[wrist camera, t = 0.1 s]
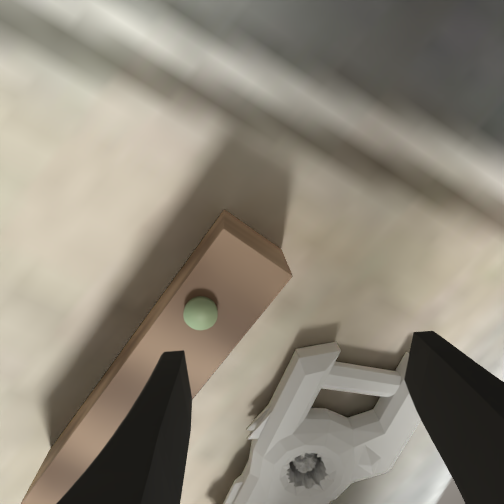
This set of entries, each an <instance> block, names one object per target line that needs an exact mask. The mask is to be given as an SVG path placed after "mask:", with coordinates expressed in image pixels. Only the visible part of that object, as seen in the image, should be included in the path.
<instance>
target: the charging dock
mask: <svg viewBox="0 0 504 504" xmlns="http://www.w3.org/2000/svg"><path fill="white" fill-rule="evenodd" d="M291 278H292V273H291V271H290V269H289V266H288V264H287V261H286V259H285V257H284V254H283V252H282V249H280V248H279V247H277V246H276V245H274V244H273V243H272V242H270V241H269V240H267V239H266V238H264V237H263V236H262V235H260V234H259V233H257V232H256V231H254V230H253V229H252V228H250V227H249V226H247V225H246V224H244V223H243V222H242V221H240V220H239V219H237V218H236V217H235V216H233V215H232V214H230V213H229V212H227V211H226V210H225V209H224V210H223V212H222V213H221V214H220V216H219V217H218V218H217V220H216V221H215V223H214V224H213V225H212V227H211V228H210V230H209V231H208V232H207V234H206V235H205V236H204V238H203V239H202V241H201V242H200V243H199V245H198V246H197V247H196V249H195V250H194V252H193V253H192V254H191V256H190V257H189V258H188V260H187V261H186V263H185V264H184V265H183V267H182V268H181V270H180V271H179V272H178V274H177V275H176V276H175V278H174V279H173V281H172V282H171V283H170V285H169V286H168V287H167V289H166V290H165V292H164V293H163V294H162V296H161V297H160V298H159V300H158V301H157V303H156V304H155V305H154V307H153V308H152V309H151V311H150V312H149V314H148V315H147V316H146V318H145V319H144V321H143V322H142V323H141V325H140V326H139V327H138V329H137V330H136V332H135V333H134V334H133V336H132V337H131V338H130V340H129V341H128V343H127V344H126V345H125V347H124V348H123V349H122V351H121V352H120V354H119V355H118V356H117V358H116V359H115V361H114V362H113V363H112V365H111V366H110V367H109V369H108V370H107V372H106V373H105V374H104V376H103V377H102V378H101V380H100V381H99V383H98V384H97V385H96V387H95V388H94V389H93V391H92V392H91V394H90V395H89V396H88V398H87V399H86V400H85V402H84V403H83V405H82V406H81V407H80V409H79V410H78V412H77V413H76V414H75V416H74V417H73V418H72V420H71V421H70V423H69V424H68V425H67V427H66V428H65V429H64V431H63V432H62V434H61V435H60V436H59V438H58V439H57V440H56V442H55V443H54V445H53V446H52V447H51V449H50V451H49V452H48V454H47V456H46V458H45V460H44V462H43V463H42V465H41V467H40V469H39V471H38V473H37V475H36V476H35V478H34V480H33V482H32V484H31V486H30V487H29V489H28V491H27V493H26V495H25V497H24V499H23V500H22V502H21V504H56V503H57V502H58V501H59V500H60V499H61V498H62V497H63V496H64V495H65V494H66V492H67V491H68V490H69V489H70V488H71V487H72V486H73V484H74V483H75V482H76V481H77V480H78V479H79V477H80V476H81V475H82V474H83V473H84V472H85V470H86V469H87V468H88V467H89V466H90V464H91V463H92V462H93V461H94V459H95V458H96V457H97V456H98V454H99V453H100V452H101V450H102V449H103V448H104V446H105V445H106V444H107V442H108V441H109V440H110V438H111V437H112V436H113V434H114V433H115V431H116V430H117V428H118V427H119V425H120V424H121V423H122V421H123V420H124V418H125V417H126V415H127V414H128V412H129V411H130V409H131V408H132V406H133V404H134V403H135V401H136V400H137V398H138V396H139V395H140V393H141V391H142V390H143V388H144V386H145V385H146V383H147V381H148V379H149V378H150V376H151V374H152V372H153V370H154V368H155V366H156V364H157V363H158V361H159V359H160V356H161V355H162V354H163V353H164V352H168V351H181V350H184V352H185V358H186V364H187V370H188V376H189V382H190V388H191V394H192V399H193V398H194V397H195V396H196V394H197V393H198V392H199V391H200V389H201V388H202V387H203V386H204V385H205V383H206V382H207V381H208V380H209V378H210V377H211V376H212V375H213V374H214V372H215V371H216V370H217V369H218V367H219V366H220V365H221V364H222V363H223V361H224V360H225V359H226V358H227V356H228V355H229V353H230V352H231V351H232V350H233V349H234V347H235V346H236V345H237V344H238V342H239V341H240V340H241V339H242V338H243V336H244V335H245V334H246V333H247V331H248V330H249V329H250V328H251V327H252V325H253V324H254V323H255V322H256V320H257V319H258V318H259V317H260V316H261V314H262V313H263V312H264V311H265V309H266V308H267V307H268V306H269V304H270V303H271V302H272V301H273V300H274V298H275V297H276V296H277V295H278V293H279V292H280V291H281V290H282V289H283V287H284V286H285V285H286V284H287V282H288V281H289V280H290V279H291Z"/></svg>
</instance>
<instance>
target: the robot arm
mask: <svg viewBox="0 0 504 504" xmlns="http://www.w3.org/2000/svg"><path fill="white" fill-rule="evenodd" d="M404 380H405V383H406V386H407V388H408V391H409V394H410V396H411V399H412V401H413V404H414V406H415V409H416V411H417V413H418V415H419V417H420V419H421V420H422V422H423V424H424V426H425V428H426V430H427V432H428V433H429V435H430V437H431V439H432V441H433V443H434V444H435V446H436V448H437V450H438V452H439V454H440V455H441V457H442V459H443V461H444V463H445V464H446V466H447V468H448V470H449V472H450V474H451V475H452V477H453V479H454V481H455V483H456V485H457V487H458V489H459V491H460V493H461V495H462V497H463V499H464V501H465V504H504V382H503V381H501V380H500V379H498V378H497V377H495V376H494V375H493V374H491V373H490V372H488V371H487V370H486V369H484V368H483V367H481V366H480V365H479V364H477V363H476V362H475V361H473V360H472V359H471V358H469V357H468V356H466V355H465V354H464V353H462V352H461V351H460V350H458V349H457V348H456V347H454V346H453V345H452V344H450V343H449V342H448V341H446V340H445V339H444V338H442V337H441V336H439V335H438V334H437V333H435V332H434V331H425V332H414V334H413V339H412V343H411V348H410V353H409V358H408V363H407V368H406V373H405V378H404ZM191 410H192V394H191V388H190V382H189V376H188V370H187V364H186V358H185V352H184V350H181V351H168V352H164V353H163V354H162V355H161V356H160V359H159V361H158V363H157V364H156V366H155V368H154V370H153V372H152V374H151V376H150V378H149V379H148V381H147V383H146V385H145V386H144V388H143V390H142V391H141V393H140V395H139V396H138V398H137V400H136V401H135V403H134V404H133V406H132V408H131V409H130V411H129V412H128V414H127V415H126V417H125V418H124V420H123V421H122V423H121V424H120V425H119V427H118V428H117V430H116V431H115V433H114V434H113V436H112V437H111V438H110V440H109V441H108V442H107V444H106V445H105V446H104V448H103V449H102V450H101V452H100V453H99V454H98V456H97V457H96V458H95V459H94V461H93V462H92V463H91V464H90V466H89V467H88V468H87V469H86V470H85V472H84V473H83V474H82V475H81V476H80V477H79V479H78V480H77V481H76V482H75V483H74V484H73V486H72V487H71V488H70V489H69V490H68V491H67V492H66V494H65V495H64V496H63V497H62V498H61V499H60V500H59V501H58V502H57V503H56V504H180V499H181V493H182V486H183V479H184V472H185V466H186V459H187V452H188V445H189V438H190V431H191Z"/></svg>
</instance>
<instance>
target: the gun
mask: <svg viewBox="0 0 504 504" xmlns="http://www.w3.org/2000/svg"><path fill="white" fill-rule="evenodd" d="M340 352H341V350H340V348H339V346H338V344H337V342H331V343H326V344H320V345H314V346H309V347H303V348H298V349H296V350H295V352H294V354H293V356H292V358H291V360H290V362H289V364H288V366H287V368H286V370H285V372H284V374H283V376H282V378H281V380H280V382H279V384H278V386H277V388H276V390H275V392H274V394H273V396H272V398H271V400H270V402H269V404H268V405H267V406H266V407H265V409H264V410H263V411H262V412H261V413H260V414H259V415H258V416H257V417H256V419H255V420H254V421H253V422H252V423H251V424H250V425H249V426H248V428H247V430H250V431H252V433H251V434H250V435H249V436H248V437H247V439H252V443H251V448H250V454H249V460H248V462H247V464H246V466H245V468H244V470H243V472H242V474H241V475H240V476H239V477H238V478H237V479H235V480H234V482H233V484H232V486H231V488H230V490H229V492H228V494H227V496H226V498H225V500H224V502H223V504H329V503H330V502H331V501H332V500H335V499H337V498H338V497H339V496H340V495H341V494H342V493H343V492H344V491H345V490H346V489H347V488H348V487H349V486H350V485H351V484H352V483H354V482H357V481H361V480H364V479H368V478H371V477H374V476H378V475H381V474H385V473H387V472H388V471H389V470H391V468H392V467H393V465H394V463H395V462H396V460H397V459H398V457H399V455H400V454H401V452H402V450H403V449H404V447H405V446H406V444H407V442H408V441H409V439H410V437H411V436H412V434H413V432H414V431H415V429H416V428H417V426H418V424H419V423H420V421H421V419H420V417H419V415H418V413H417V411H416V409H415V406H414V404H413V401H412V399H411V396H410V394H409V391H408V388H407V386H406V383H405V380H404V378H405V373H406V368H407V363H408V358H409V353H408V352H407V351H406V353H405V355H404V356H403V358H402V360H401V362H400V363H399V365H398V367H397V369H396V370H395V371H391V370H385V369H379V368H373V367H367V366H361V365H354V364H348V363H342V362H336V359H337V357H338V355H339V354H340ZM321 388H322V389H329V390H337V391H344V392H351V393H359V394H366V395H373V396H380V398H379V400H378V402H377V403H376V405H375V407H374V409H373V410H370V411H367V412H364V413H361V414H358V415H354V416H351V417H348V418H347V417H344V416H342V415H340V414H338V413H336V412H333V411H331V410H329V409H327V408H311V407H312V405H313V403H314V401H315V399H316V397H317V395H318V393H319V391H320V390H321ZM316 453H317V454H316Z"/></svg>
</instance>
